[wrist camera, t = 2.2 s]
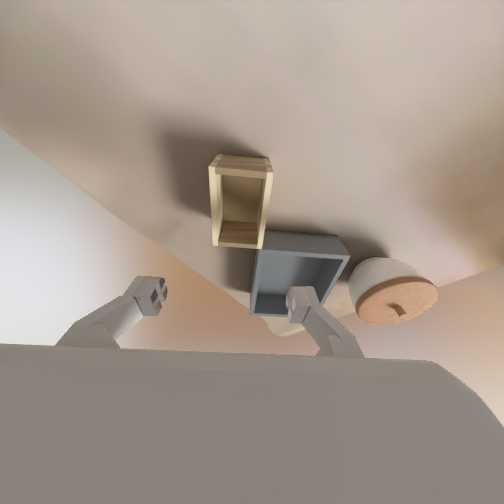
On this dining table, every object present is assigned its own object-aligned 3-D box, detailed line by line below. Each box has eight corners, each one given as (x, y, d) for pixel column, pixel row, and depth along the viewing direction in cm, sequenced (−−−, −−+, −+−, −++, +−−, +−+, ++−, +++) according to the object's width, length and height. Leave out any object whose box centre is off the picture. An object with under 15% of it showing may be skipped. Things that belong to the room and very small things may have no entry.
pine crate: (218, 153, 21) (208, 166, 16) (269, 158, 21) (273, 172, 17) (220, 221, 27) (213, 245, 22) (260, 224, 27) (261, 249, 22)
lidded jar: (329, 266, 32) (351, 313, 25) (394, 234, 28) (444, 279, 21) (352, 295, 37) (376, 341, 30) (409, 272, 33) (454, 319, 26)
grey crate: (258, 229, 27) (259, 249, 23) (337, 235, 28) (350, 256, 24) (250, 293, 37) (249, 314, 33) (309, 296, 38) (315, 318, 34)
